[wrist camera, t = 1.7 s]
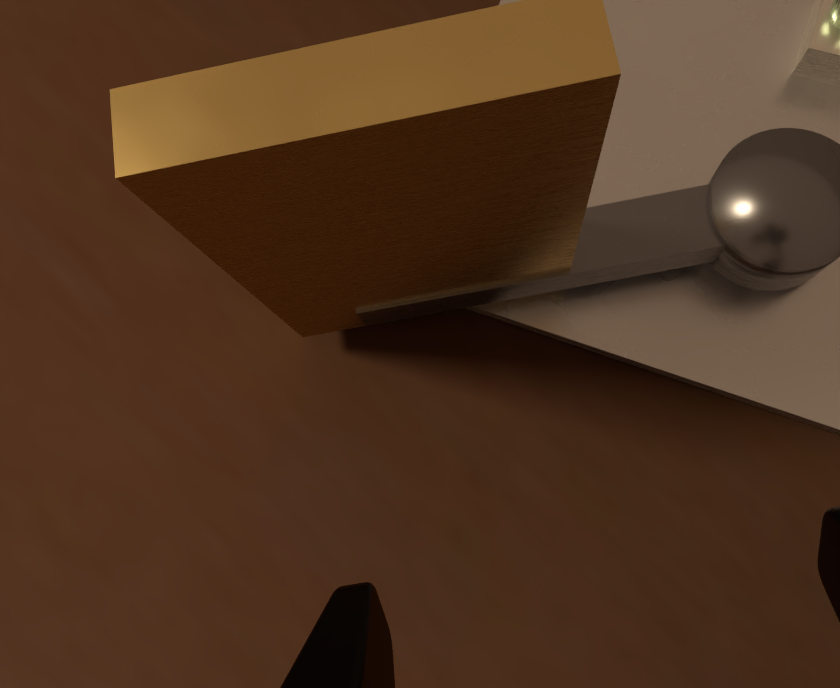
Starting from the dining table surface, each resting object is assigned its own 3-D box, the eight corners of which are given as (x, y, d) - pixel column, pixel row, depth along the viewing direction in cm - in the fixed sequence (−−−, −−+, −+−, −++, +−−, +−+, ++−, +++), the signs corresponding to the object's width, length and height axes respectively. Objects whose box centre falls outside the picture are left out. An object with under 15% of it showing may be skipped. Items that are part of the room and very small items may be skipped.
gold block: (815, 150, 22) (1111, -198, 11) (855, 276, 21) (1222, 29, 10) (292, 251, 23) (105, 26, 12) (307, 375, 22) (120, 248, 11)
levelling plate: (962, 19, 23) (1025, -49, 20) (847, 437, 21) (900, 426, 18) (536, -78, 26) (540, -150, 23) (392, 284, 23) (376, 253, 21)
